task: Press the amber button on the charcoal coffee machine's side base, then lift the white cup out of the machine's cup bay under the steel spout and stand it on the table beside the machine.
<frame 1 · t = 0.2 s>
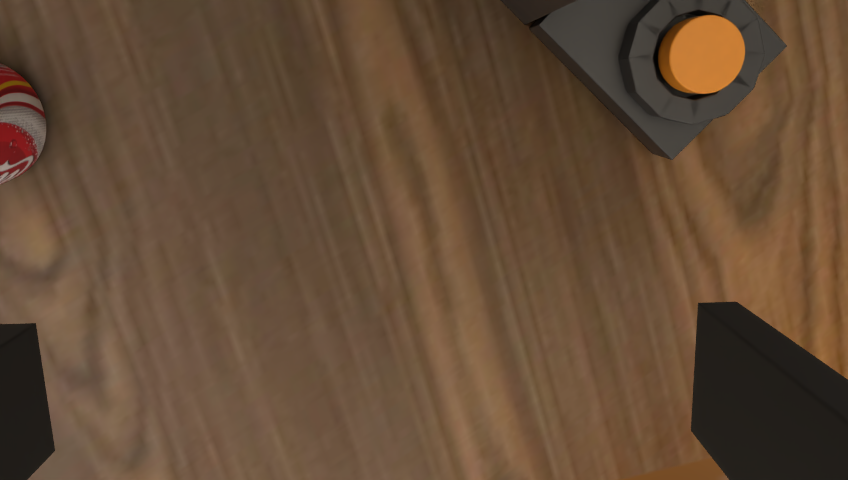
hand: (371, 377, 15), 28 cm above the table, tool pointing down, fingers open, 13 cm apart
start button: (700, 55, 35), point 5 cm above the table, slide at 0.1 cm
button base: (644, 38, 40), on the table
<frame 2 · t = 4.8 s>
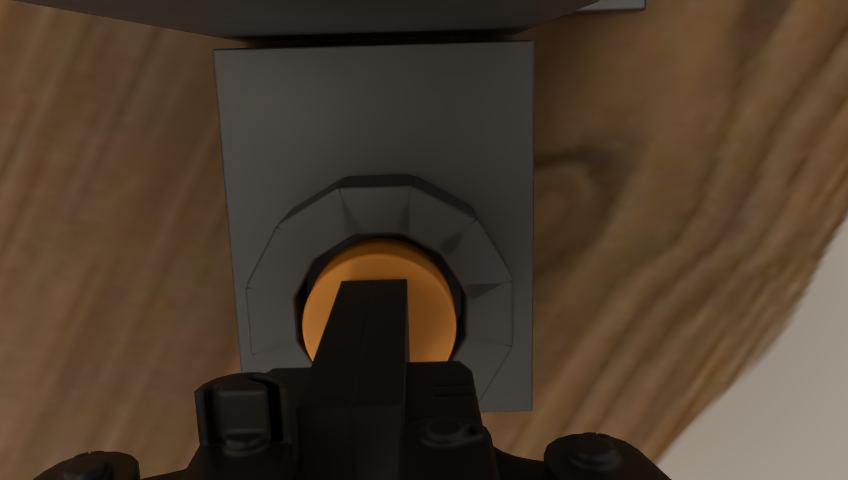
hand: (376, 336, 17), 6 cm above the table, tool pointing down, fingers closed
start button: (381, 316, 18), point 5 cm above the table, slide at -0.4 cm, touching gripper
button base: (386, 217, 22), on the table
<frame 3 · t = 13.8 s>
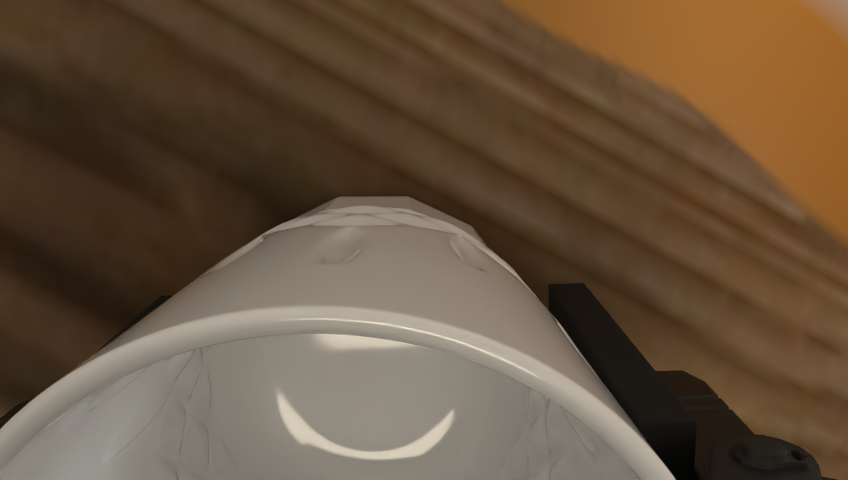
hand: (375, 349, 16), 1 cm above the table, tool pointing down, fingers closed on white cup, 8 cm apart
white cup: (377, 335, 17), on the table, touching gripper
when the fingers open (1 cm above the table, at t = 21.1 s): white cup stays where it is, on the table.
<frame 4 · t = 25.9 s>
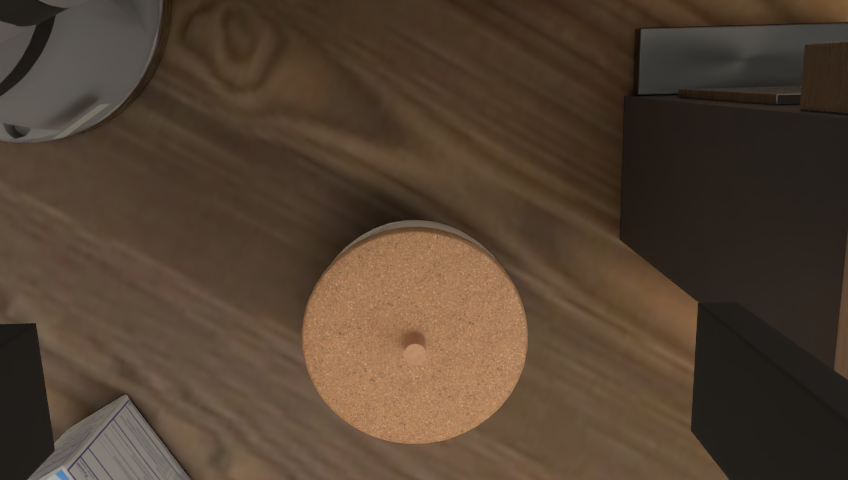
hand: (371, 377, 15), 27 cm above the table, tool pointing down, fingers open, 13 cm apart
medicine box: (139, 458, 44), on the table
trinket box: (415, 292, 42), on the table
coffee machine: (729, 166, 41), on the table
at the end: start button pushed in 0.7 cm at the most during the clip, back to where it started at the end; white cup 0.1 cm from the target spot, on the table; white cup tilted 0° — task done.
